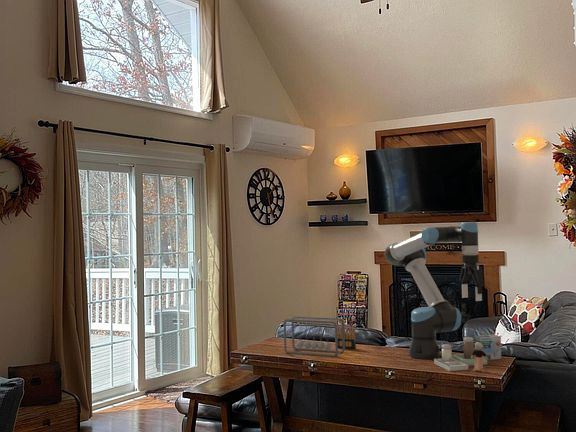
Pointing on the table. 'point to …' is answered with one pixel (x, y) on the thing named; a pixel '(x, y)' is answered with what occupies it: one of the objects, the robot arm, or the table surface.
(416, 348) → the robot arm
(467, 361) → the parts tray
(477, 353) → the grandmother figurine
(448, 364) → the white flat frame
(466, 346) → the white and tan cylinder
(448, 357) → the fuse
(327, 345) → the newton's cradle
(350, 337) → the ammunition clip
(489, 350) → the light bulb box
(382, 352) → the table surface
